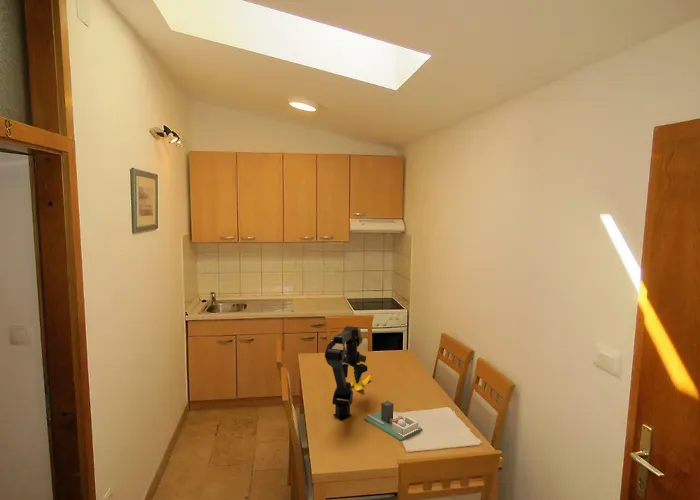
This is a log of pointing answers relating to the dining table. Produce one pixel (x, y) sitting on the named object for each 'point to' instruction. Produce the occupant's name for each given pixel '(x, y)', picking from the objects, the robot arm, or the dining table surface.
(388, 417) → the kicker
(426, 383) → the dining table surface
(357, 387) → the banana peel
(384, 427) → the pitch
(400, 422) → the ball
